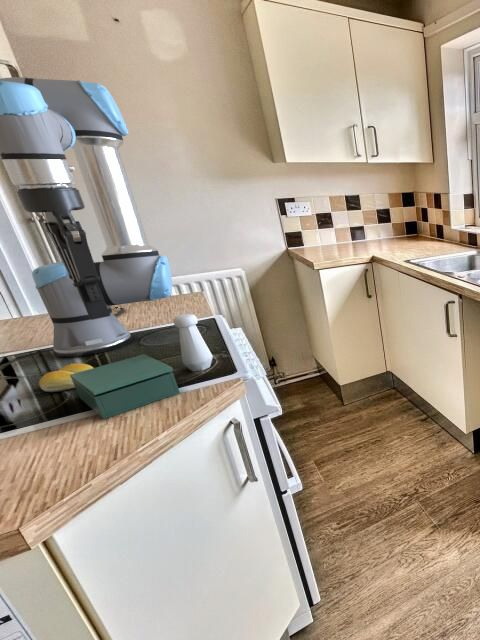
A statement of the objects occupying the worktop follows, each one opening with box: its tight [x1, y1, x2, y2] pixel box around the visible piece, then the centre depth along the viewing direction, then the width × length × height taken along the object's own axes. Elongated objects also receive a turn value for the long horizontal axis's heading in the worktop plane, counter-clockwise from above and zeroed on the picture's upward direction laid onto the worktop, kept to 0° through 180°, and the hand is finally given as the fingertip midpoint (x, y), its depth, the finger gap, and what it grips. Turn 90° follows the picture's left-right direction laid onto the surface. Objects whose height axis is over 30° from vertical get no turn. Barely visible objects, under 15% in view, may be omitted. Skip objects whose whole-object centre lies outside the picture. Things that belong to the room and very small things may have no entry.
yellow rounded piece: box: [38, 362, 94, 393], centre depth 92 cm, size 8×9×4 cm
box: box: [72, 371, 181, 420], centre depth 86 cm, size 15×12×5 cm
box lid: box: [70, 354, 174, 395], centre depth 85 cm, size 16×12×1 cm
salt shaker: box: [172, 313, 214, 372], centre depth 97 cm, size 6×6×13 cm
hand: (100, 317), depth 81 cm, fingers closed
